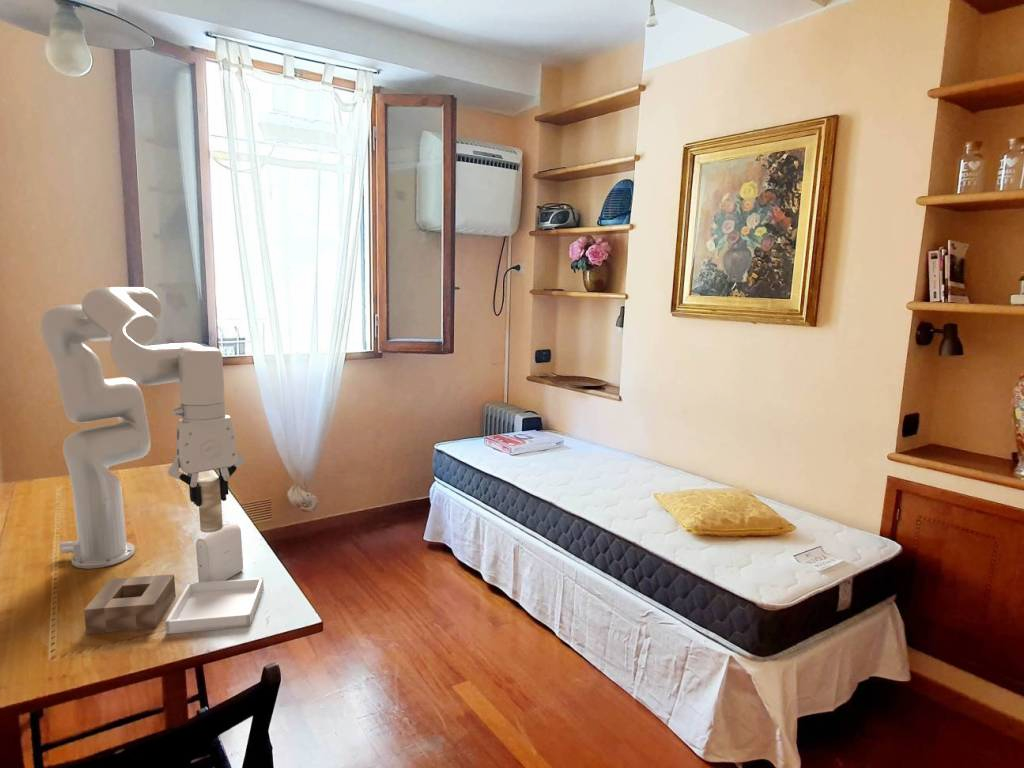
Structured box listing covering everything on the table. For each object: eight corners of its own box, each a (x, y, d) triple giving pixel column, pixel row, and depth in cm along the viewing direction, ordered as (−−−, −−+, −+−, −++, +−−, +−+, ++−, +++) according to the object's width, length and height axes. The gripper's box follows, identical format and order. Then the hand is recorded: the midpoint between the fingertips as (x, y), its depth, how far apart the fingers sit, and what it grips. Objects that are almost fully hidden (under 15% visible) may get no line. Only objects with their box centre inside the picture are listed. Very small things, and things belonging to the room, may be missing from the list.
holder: (86, 633, 116) (83, 609, 115) (112, 601, 128) (110, 578, 127) (156, 627, 119) (154, 604, 118) (175, 596, 130) (174, 574, 129)
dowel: (204, 534, 120) (200, 485, 118) (197, 527, 122) (194, 479, 121) (225, 529, 122) (222, 481, 120) (219, 522, 125) (216, 475, 123)
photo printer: (210, 590, 133) (206, 537, 131) (195, 586, 134) (191, 533, 132) (246, 570, 142) (243, 520, 140) (232, 566, 144) (229, 516, 142)
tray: (166, 633, 117) (165, 621, 116) (189, 594, 131) (188, 583, 131) (250, 626, 120) (249, 614, 119) (263, 588, 134) (263, 577, 134)
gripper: (160, 420, 110) (167, 517, 113) (255, 409, 121) (259, 497, 124) (150, 413, 115) (157, 505, 119) (242, 402, 126) (246, 487, 130)
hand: (209, 500), depth 121 cm, fingers closed on dowel, 4 cm apart
